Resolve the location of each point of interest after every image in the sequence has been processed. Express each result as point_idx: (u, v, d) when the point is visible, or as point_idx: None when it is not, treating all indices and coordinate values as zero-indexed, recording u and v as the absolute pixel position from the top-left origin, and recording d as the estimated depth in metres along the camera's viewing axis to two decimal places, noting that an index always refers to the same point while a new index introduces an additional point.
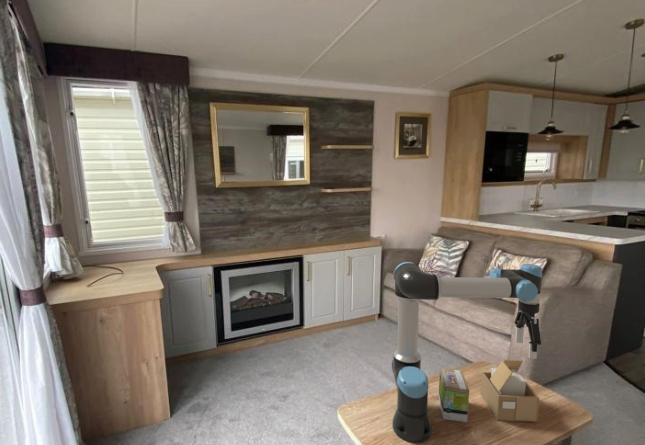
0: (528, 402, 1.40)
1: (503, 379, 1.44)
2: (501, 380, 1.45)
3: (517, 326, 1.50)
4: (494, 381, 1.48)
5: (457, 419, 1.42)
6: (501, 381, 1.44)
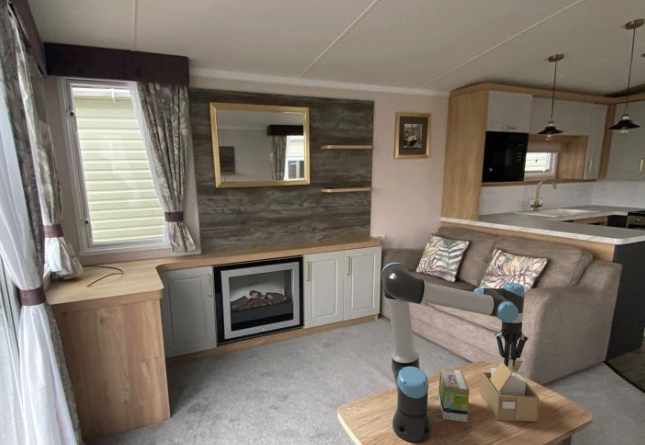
0: (528, 402, 1.40)
1: (503, 379, 1.44)
2: (501, 380, 1.45)
3: (510, 354, 1.46)
4: (494, 381, 1.48)
5: (457, 419, 1.42)
6: (501, 381, 1.44)
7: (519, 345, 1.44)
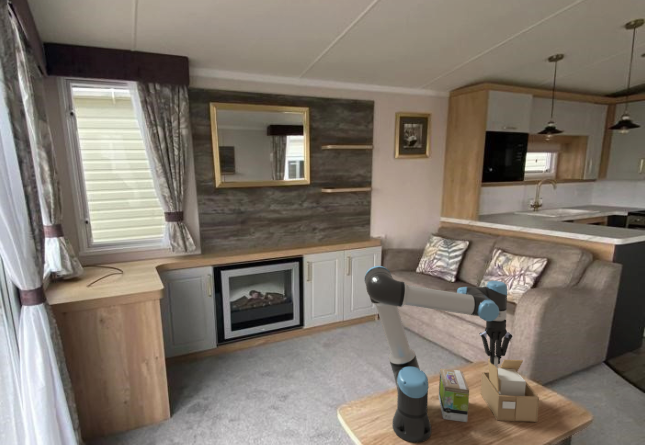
0: (528, 402, 1.40)
1: (495, 378, 1.44)
2: (495, 379, 1.45)
3: (495, 352, 1.46)
4: (492, 381, 1.48)
5: (457, 419, 1.42)
6: (495, 380, 1.44)
7: (504, 343, 1.44)
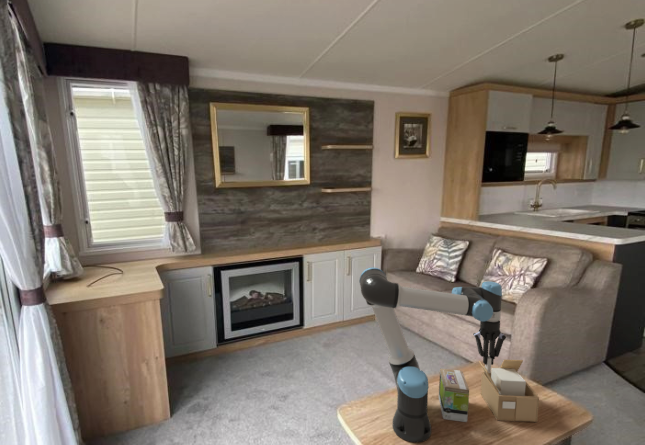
0: (528, 402, 1.40)
1: (490, 379, 1.44)
2: (491, 381, 1.45)
3: (489, 352, 1.47)
4: (491, 381, 1.48)
5: (457, 419, 1.42)
6: (491, 381, 1.45)
7: (497, 344, 1.45)
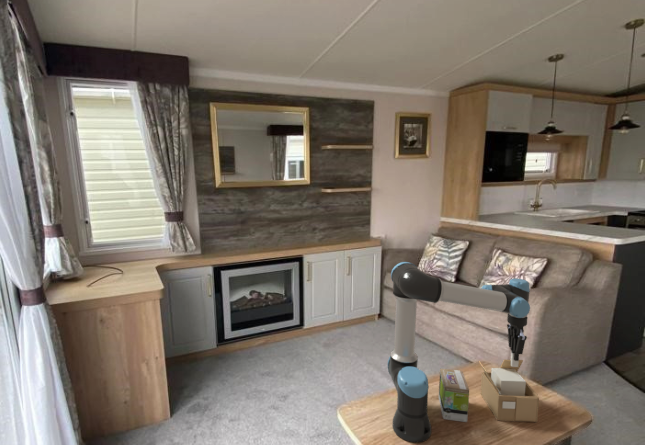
0: (528, 402, 1.40)
1: (490, 379, 1.44)
2: (491, 381, 1.45)
3: (512, 348, 1.50)
4: (491, 381, 1.48)
5: (457, 419, 1.42)
6: (491, 381, 1.45)
7: None
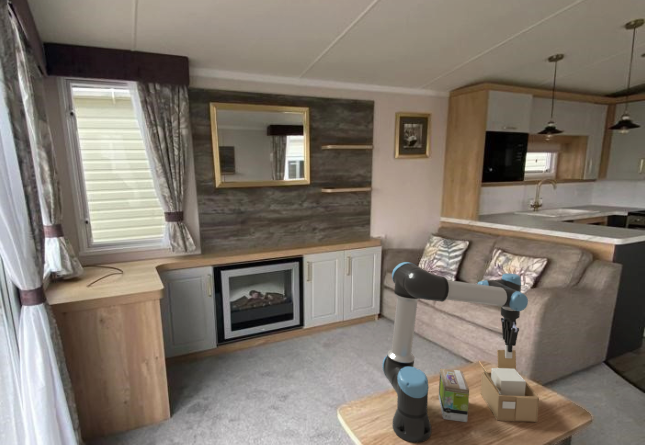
0: (528, 402, 1.40)
1: (490, 379, 1.44)
2: (491, 381, 1.45)
3: (505, 340, 1.57)
4: (491, 381, 1.48)
5: (457, 419, 1.42)
6: (491, 381, 1.45)
7: None
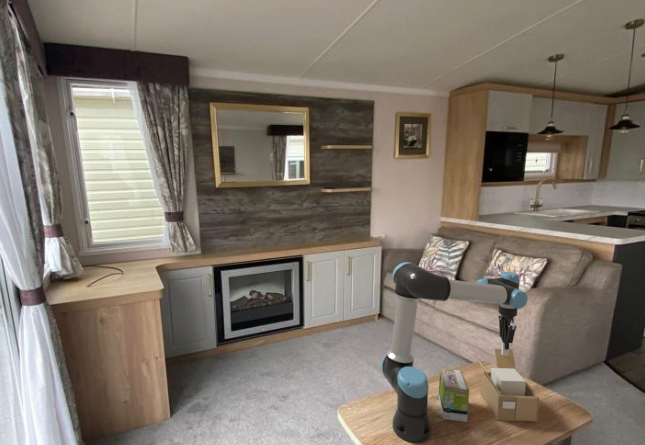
0: (528, 402, 1.40)
1: (490, 379, 1.44)
2: (491, 381, 1.45)
3: (502, 338, 1.59)
4: (491, 381, 1.48)
5: (457, 419, 1.42)
6: (491, 381, 1.45)
7: None
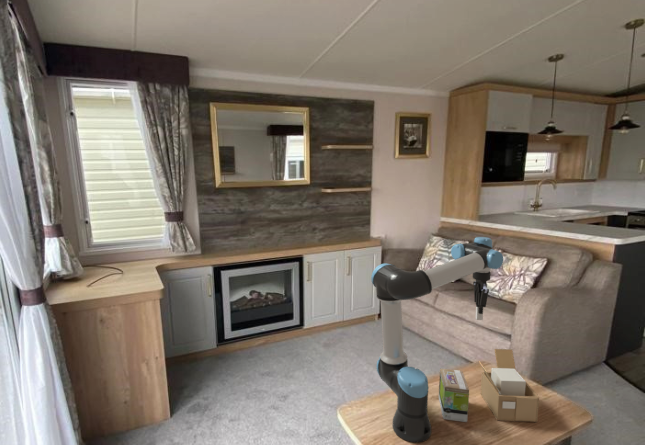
0: (528, 402, 1.40)
1: (490, 379, 1.44)
2: (491, 381, 1.45)
3: (477, 302, 1.61)
4: (491, 381, 1.48)
5: (457, 419, 1.42)
6: (491, 381, 1.45)
7: None
